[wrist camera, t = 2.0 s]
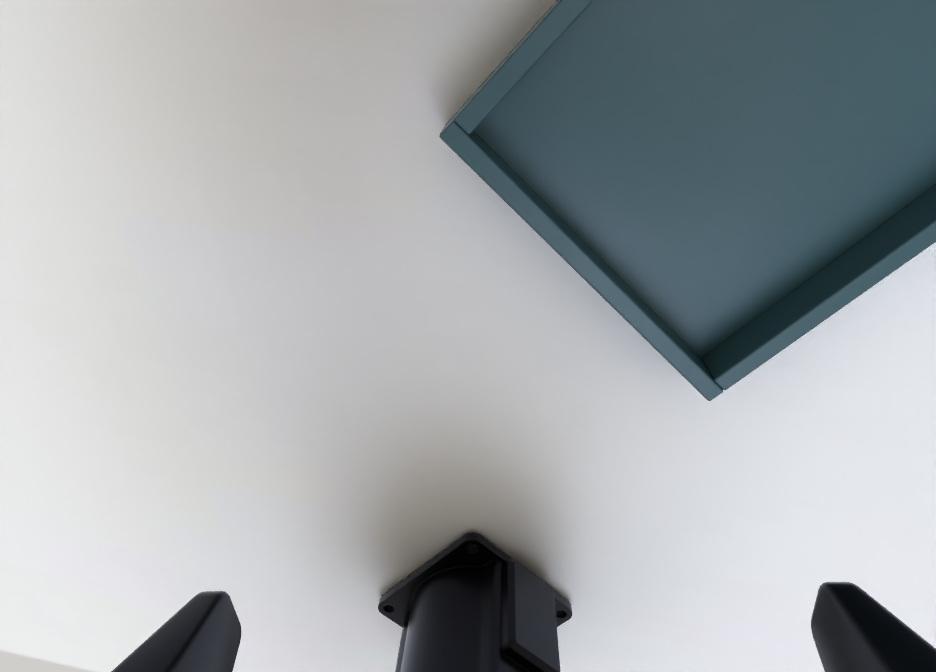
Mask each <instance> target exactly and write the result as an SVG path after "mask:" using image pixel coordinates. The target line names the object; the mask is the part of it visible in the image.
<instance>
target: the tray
mask: <svg viewBox="0 0 936 672" xmlns="http://www.w3.org/2000/svg"><path fill="white" fill-rule="evenodd" d="M440 138H441V139H442V140H443V141H444V142H445V143H446V144H447V145H448V146H449V147H450V148H451V149H452V150H453V151H454V152H455V153H456V154H457V155H458V156H459V157H460V158H461V159H462V160H463V161H464V162H465V163H466V164H467V165H468V166H470V167H471V168H472V169H473V170H474V171H475V172H476V173H477V174H478V175H479V176H480V177H481V178H482V179H483V180H484V181H485V182H486V183H487V184H488V185H489V186H490V187H491V188H492V189H493V190H494V191H495V192H496V193H497V194H498V195H499V196H500V197H501V198H502V199H503V200H504V201H505V202H506V203H507V204H508V205H509V206H510V207H511V208H512V209H513V210H514V211H515V212H516V213H517V214H518V215H519V216H520V217H521V218H522V219H524V220H525V221H526V222H527V223H528V224H529V225H530V226H531V227H532V228H533V229H534V230H535V231H536V232H537V233H538V234H539V235H540V236H541V237H542V238H543V239H544V240H545V241H546V242H547V243H548V244H549V245H550V246H551V247H552V248H553V249H554V250H555V251H556V252H557V253H558V254H559V255H560V256H561V257H562V258H563V259H564V260H565V261H566V262H567V263H568V264H569V265H570V266H571V267H572V268H573V269H574V270H575V271H576V272H578V273H579V274H580V275H581V276H582V277H583V278H584V279H585V280H586V281H587V282H588V283H589V284H590V285H591V286H592V287H593V288H594V289H595V290H596V291H597V292H598V293H599V294H600V295H601V296H602V297H603V298H604V299H605V300H606V301H607V302H608V303H609V304H610V305H611V306H612V307H613V308H614V309H615V310H616V311H617V312H618V313H619V314H620V315H621V316H622V317H623V318H624V319H625V320H626V321H627V322H628V323H629V324H630V325H632V326H633V327H634V328H635V329H636V330H637V331H638V332H639V333H640V334H641V335H642V336H643V337H644V338H645V339H646V340H647V341H648V342H649V343H650V344H651V345H652V346H653V347H654V348H655V349H656V350H657V351H658V352H659V353H660V354H661V355H662V356H663V357H664V358H665V359H666V360H667V361H668V362H669V363H670V364H671V365H672V366H673V367H674V368H675V369H676V370H677V371H678V372H679V373H680V374H681V375H682V376H683V377H684V378H686V379H687V380H688V381H689V382H690V383H691V384H692V385H693V386H694V387H695V388H696V389H697V390H698V391H699V392H700V393H701V394H702V395H703V396H704V397H705V398H706V399H707V400H708V401H711V400H712V399H714V398H715V397H717V396H718V395H719V394H721V393H722V392H723V390H726V389H728V388H729V387H731V386H732V385H734V384H735V383H736V382H738V381H739V380H741V379H742V378H743V377H745V376H746V375H748V374H749V373H751V372H752V371H753V370H755V369H756V368H758V367H759V366H760V365H762V364H763V363H765V362H766V361H768V360H769V359H770V358H772V357H773V356H775V355H776V354H777V353H779V352H780V351H782V350H783V349H785V348H786V347H787V346H789V345H790V344H792V343H793V342H794V341H796V340H797V339H799V338H800V337H802V336H803V335H804V334H806V333H807V332H809V331H810V330H811V329H813V328H814V327H816V326H817V325H818V324H820V323H821V322H823V321H824V320H826V319H827V318H828V317H830V316H831V315H833V314H834V313H835V312H837V311H838V310H840V309H841V308H843V307H844V306H845V305H847V304H848V303H850V302H851V301H852V300H854V299H855V298H857V297H858V296H860V295H861V294H862V293H864V292H865V291H867V290H868V289H869V288H871V287H872V286H874V285H875V284H877V283H878V282H879V281H881V280H882V279H884V278H885V277H886V276H888V275H889V274H891V273H892V272H894V271H895V270H896V269H898V268H899V267H901V266H902V265H903V264H905V263H906V262H908V261H909V260H911V259H912V258H913V257H915V256H916V255H918V254H919V253H920V252H922V251H923V250H925V249H926V248H928V247H929V246H930V245H932V244H933V243H935V242H936V0H557V1H556V2H555V3H554V4H553V6H552V7H551V8H550V9H549V10H548V11H547V12H546V13H545V14H544V16H543V17H542V18H541V19H540V20H539V21H538V22H537V23H536V25H535V26H534V27H533V28H532V29H531V30H530V31H529V32H528V33H527V35H526V36H525V37H524V38H523V39H522V40H521V41H520V42H519V44H518V45H517V46H516V47H515V48H514V49H513V50H512V51H511V52H510V54H509V55H508V56H507V57H506V58H505V59H504V60H503V61H502V63H501V64H500V65H499V66H498V67H497V68H496V69H495V70H494V71H493V73H492V74H491V75H490V76H489V77H488V78H487V79H486V80H485V82H484V83H483V84H482V85H481V86H480V87H479V88H478V89H477V90H476V92H475V93H474V94H473V95H472V96H471V97H470V98H469V99H468V101H467V102H466V103H465V104H464V105H463V106H462V107H461V108H460V110H459V111H458V112H457V113H456V114H455V115H454V116H453V117H452V118H451V120H450V121H449V122H448V123H447V124H446V125H445V127H444V129H443V130H442V132H441V134H440Z"/></svg>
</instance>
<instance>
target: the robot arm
mask: <svg viewBox="0 0 936 672" xmlns="http://www.w3.org/2000/svg"><path fill="white" fill-rule="evenodd" d="M469 544H475V546H472V545H469ZM378 609H379V611H380V612H381V613H382V614H383V615H385V616H386V617H388V618H389V619H391V620H392V621H394V622H395V623H397V624H398V625H400V626H401V627H403V630H402V636H401V642H400V648H399V654H398V659H397V665H396V671H395V672H560V662H559V649H558V637H557V626H559V625H561V624H562V623H564V622H566V621H567V620H569V619H570V618H571V616H572V608H571V604H570V603H569V601H567V600H566V599H565V598H563V597H562V596H561V595H559V594H558V593H557V592H555V591H554V590H553V589H552V588H551V587H549V586H548V585H547V584H545V583H544V582H543V581H541V580H540V579H539V578H537V577H536V576H535V575H533V574H532V573H531V572H530V571H528V570H527V569H526V568H524V567H523V566H522V565H520V564H519V563H518V562H516V561H514V560H513V559H512V558H510V557H509V556H508V555H506V554H505V553H504V552H502V551H501V550H500V549H498V548H497V547H496V546H494V545H493V544H492V543H490V542H489V541H488V540H486V539H485V538H484V537H482V536H481V535H479V534H477V533H467V534H465V535H463V536H462V537H461V538H459V539H458V540H457V541H455V542H454V543H453V544H451V545H450V546H449V547H447V548H446V549H445V550H443V551H442V552H441V553H439V554H438V555H436V556H435V557H434V558H432V559H431V560H430V561H428V562H427V563H426V564H424V565H423V566H422V567H420V568H419V569H418V570H416V571H415V572H414V573H412V574H411V575H409V576H408V577H407V578H405V579H404V580H403V581H401V582H400V583H399V584H397V585H396V586H395V587H393V588H392V589H391V590H389V591H388V592H387V593H385V594H384V595H382V597H381V598H380V601H379V606H378ZM811 629H812V634H813V638H814V641H815V644H816V647H817V650H818V653H819V656H820V659H821V662H822V664H823V667H824V670H825V672H936V649H935V648H934V647H933V646H932V645H930V644H929V643H928V642H927V641H925V640H924V639H923V638H922V637H920V636H919V635H918V634H917V633H915V632H914V631H913V630H912V629H911V628H909V627H908V626H907V625H906V624H904V623H903V622H902V621H901V620H899V619H898V618H897V617H896V616H894V615H893V614H892V613H891V612H889V611H888V610H887V609H886V608H884V607H883V606H882V605H881V604H879V603H878V602H877V601H876V600H874V599H873V598H872V597H871V596H869V595H868V594H867V593H866V592H864V591H863V590H862V589H861V588H859V587H858V586H856V585H855V584H853V583H849V582H826V583H823V584H822V585H821V586H820V587H819V590H818V594H817V598H816V602H815V606H814V610H813V614H812V619H811ZM240 639H241V625H240V622H239V619H238V617H237V614H236V612H235V609H234V606H233V604H232V601H231V599H230V596H229V595H228V594H227V593H226V592H224V591H206V592H201V593H199V594H198V595H196V596H195V597H194V598H193V599H191V600H190V601H189V602H188V603H187V604H186V605H185V606H184V607H183V608H181V609H180V610H179V611H178V612H177V613H176V614H175V615H174V616H173V617H171V618H170V619H169V620H168V621H167V622H166V623H165V624H164V625H163V626H161V627H160V628H159V629H158V630H157V631H156V632H155V633H154V634H153V635H152V636H150V637H149V638H148V639H147V640H146V641H145V642H144V643H143V644H142V645H140V646H139V647H138V648H137V649H136V650H135V651H134V652H133V653H132V654H130V655H129V656H128V657H127V658H126V659H125V660H124V661H123V662H122V663H120V664H119V665H118V666H117V667H116V668H115V669H114V670H113V671H112V672H232V671H233V667H234V663H235V659H236V655H237V652H238V648H239V644H240Z"/></svg>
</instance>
